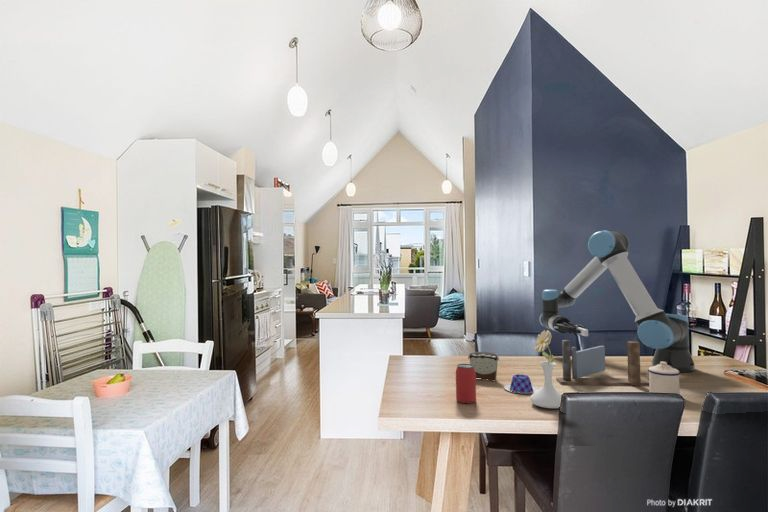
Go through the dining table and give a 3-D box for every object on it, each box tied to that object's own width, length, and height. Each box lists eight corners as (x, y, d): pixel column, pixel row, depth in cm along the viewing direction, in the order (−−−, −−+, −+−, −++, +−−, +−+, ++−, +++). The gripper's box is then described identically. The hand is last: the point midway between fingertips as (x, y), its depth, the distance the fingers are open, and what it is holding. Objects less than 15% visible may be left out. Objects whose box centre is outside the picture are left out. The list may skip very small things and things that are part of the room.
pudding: (501, 385, 161) (500, 371, 161) (533, 385, 161) (532, 371, 161) (508, 395, 149) (508, 380, 149) (543, 395, 149) (542, 380, 149)
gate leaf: (602, 369, 175) (601, 340, 175) (605, 370, 173) (605, 341, 173) (571, 378, 163) (570, 347, 163) (575, 379, 161) (574, 347, 162)
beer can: (454, 398, 146) (453, 363, 147) (472, 397, 147) (472, 362, 147) (459, 404, 140) (458, 368, 140) (478, 403, 140) (477, 367, 141)
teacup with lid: (687, 399, 141) (686, 364, 141) (662, 401, 139) (661, 365, 140) (659, 389, 152) (658, 356, 153) (636, 390, 151) (635, 357, 151)
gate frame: (642, 381, 163) (641, 339, 163) (652, 386, 156) (650, 342, 156) (556, 380, 166) (555, 339, 166) (561, 385, 159) (560, 342, 159)
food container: (502, 377, 171) (501, 352, 172) (499, 381, 166) (499, 355, 166) (472, 374, 177) (471, 350, 177) (468, 378, 171) (467, 353, 171)
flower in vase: (529, 398, 144) (527, 325, 145) (565, 401, 141) (563, 326, 142) (531, 412, 132) (529, 331, 132) (570, 415, 129) (568, 332, 129)
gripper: (573, 331, 202) (601, 341, 179) (546, 332, 201) (571, 342, 178) (572, 316, 202) (601, 323, 179) (546, 316, 201) (571, 324, 178)
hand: (586, 333), depth 178 cm, fingers closed
